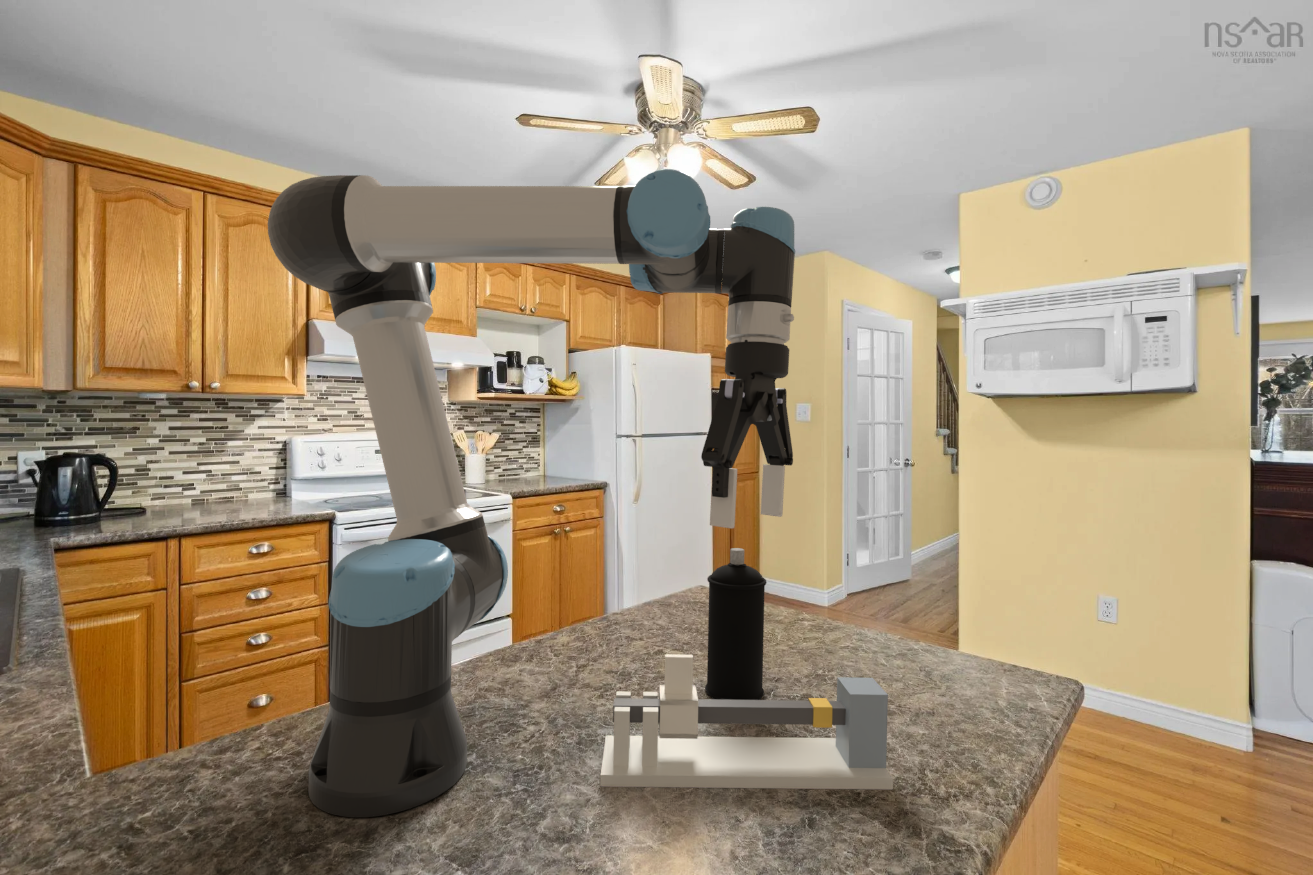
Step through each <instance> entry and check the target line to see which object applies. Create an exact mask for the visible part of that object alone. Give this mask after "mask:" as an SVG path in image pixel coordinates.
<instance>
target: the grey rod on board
mask: <svg viewBox="0 0 1313 875" xmlns="http://www.w3.org/2000/svg"><path fill="white" fill-rule="evenodd" d="M631 692H632V691H621V690H620V691H616V693H615V694H616V695H615V697H614V698H613V704H612V723H613V735H609V734H608V735H605V741H604V747H603V754H602V761H601V768H600V769H601V770H600V783H599V784H600V787H606V788H607V787H609V788H610V787H612V788H614V787H617V788H620V787H621V788H625V787H626V788H700V789H701V788H702V789H703V788H706V789H707V788H711V789H712V788H713V789H717V788H718V789H720V788H721V789H794V790H795V789H801V790H802V789H806V790H807V789H809V790H810V789H814V790H817V789H818V790H829V789H830V790H890V791H891V790H893V789H894V777H893V776H892V774H891V773H890V771H889V770H888V769H887V754H888V753H887V750H888V746H887V744H888V741H887V740H888V714H889V713H888V711H889V710H888V708H889V707H888V706H889V705H888V704H889V694H888V693H887V692H886V691H885V689H883V687H882V686H881V685H880V684H879V683H878V681H876V680H875V679H874V678H873V677H850V676H849V677H844V676H843V677H841V676H840V677H838V676H837V677H836V700H828V698H827V697H808V700H800V699H799V700H796V699H795V700H791V699H790V700H789V699H788V700H786V699H785V700H784V699H781V700H780V699H760V700H721V699H713V698H712V699H711V698H710V699H709V698H708V699H706V698H705V699H703V698H700V699H699V698H698V724H712V725H713V724H717V725H718V724H722V725H723V724H724V725H726V724H728V725H729V724H730V725H733V724H734V725H800V726H801V725H806V726H808V725H809V726H812V727H813V728H817V729H818V728H820V729H821V728H825V729H826V728H831V729H832V728H833V726H835V737H785V736H784V737H783V736H782V737H777V736H776V737H771V736H767V737H766V736H764V737H763V736H698V739H678V738H660V736H659V723H660V699H659V697H658V695H659V694H658V691H643V692H642V696H643V697H642V698H641V697H640V698H637V697H635V698H633V697H632V696H631V695H632V693H631ZM631 723H636V724H637V723H639V724H640V723H641V724H642V735H631Z"/></svg>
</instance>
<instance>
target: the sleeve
mask: <svg viewBox="0 0 1313 875" xmlns="http://www.w3.org/2000/svg"><path fill="white" fill-rule="evenodd" d="M693 680H694V656H693V654H677V653H676V654H673V653H672V654H671V653H669V654H668V653H667V654H664V684H659V694H658V695H659V697H658V699H660V723H658V736H660V738H678V739H698V734H699V723H698V699H699V697H698V693H697V687H696V685H695V684H693V682H694V681H693Z"/></svg>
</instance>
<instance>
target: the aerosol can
mask: <svg viewBox="0 0 1313 875" xmlns="http://www.w3.org/2000/svg"><path fill="white" fill-rule="evenodd" d="M729 551H730V554H729V555H730V558H729V563H728V564H724V565H722V566H720V567H717V568H716V569H715V570H713V572H712V573H711V574H710V575H708V576H707V578H706V579H707V580H706V581H707V582H708V619H707V620H708V621H707V622H708V623H707V624H708V626H707V628H708V629H707V631H708V632H707V673H706V676H707V677H706V681H707V682H706V684H705V686H704V690H705V693H706V694H707V695H708V697H710V698H712V699H721V700H762V698H763V697H764V695H765V690H764V688H763V683H764V682H763V677H764V676H763V675H764V673H763V672H764V671H763V670H764V634H765V633H764V630H765V629H764V628H765V624H764V623H765V591H766V590H765V586H766V585H767V583H768V582H767V579H766V578H764V577H763V574H761V573H760V571H758V570H757V569H756V568H754V567H752V566H749V565H747V564H746V563H745V549H743V548H741V547H740V548H739V547H734V548H733V547H732V548H730V550H729Z"/></svg>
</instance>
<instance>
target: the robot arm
mask: <svg viewBox="0 0 1313 875" xmlns="http://www.w3.org/2000/svg"><path fill="white" fill-rule="evenodd" d="M268 214H269V215H268V218H267V219H268V220H267V234H268V239H269V242H270V247H271V249H272V251H273V253H274V254H275V257H276V258H277V259H278V261H279V262H280V264H281V265H282V266H283V268H285V270H287V271H288V272H289V273H290V274H291V275H292V276H294V277H295V278H296V279H298V280H300V281H301V282H303V283H304V284H306V285H309V286H312V287H314V288H316V289H318V290H321V291H324V292H326V293H327V294H328V297H329V300H330V305H331V310H332V313H333V316H334V322H335V325H336V326H337V327H338V328H339V329H341V330H343V332H346V333H347V334H349V335H350V336H352V339H353V342H354V348H355V350H356V351H355V352H356V355H357V360H358V363H359V367H360V368H359V369H360V372H361V373H360V374H361V376H362V381H363V384H364V388H365V392H366V396H367V397H366V398H367V401H368V405H369V408H370V409H369V410H370V413H371V418H372V421H373V426H374V430H375V434H376V438H377V442H378V446H379V450H380V454H381V458H382V463H383V467H384V472H385V476H386V479H387V480H386V481H387V484H388V488H389V493H390V497H391V500H392V505H393V508H394V513H395V517H396V524H395V526H394V527H393V529H392V530H391V531H390V534H389V535H388V536H387V541H385V542H383V543H378V544H376V543H375V544H371V545H367V546H364V547H361V548H359V549H356V550H354V551H352V552H350V553H349V554H346V555H345V556H344V557H342V558H341V560H339V562H338V563H337V564H336V566H335V567H334V569H333V572H332V577H331V590H330V593H329V598H328V608H329V612H330V614H329V615H330V616H329V620H330V622H329V627H330V628H329V632H330V633H329V635H330V636H329V641H330V642H329V707H328V708H329V709H328V713H327V715H326V718H325V720H324V725H323V726H322V730H321V732H320V736H319V739H318V741H317V744H316V746H315V750H314V752H313V755H312V758H311V761H310V764H309V769H308V797H309V799H310V801H311V803H312V804H313V805H314V806H315V807H317V808H318V809H319V810H321V811H324V812H325V813H328V814H331V815H335V816H340V817H348V818H369V817H370V818H373V817H380V816H385V815H386V816H387V815H391V814H396V813H400V812H403V811H407V810H410V809H412V808H415V807H418V806H421V805H423V804H425V803H428V802H430V801H431V800H434V799H435V798H437V797H438V796H440V795H442V794H443V793H446V791H448V790H449V789H450V788H452V787H453V786H454V785H455V784H457V782H458V781H459V780H460V779H461V777H462V776H463V774H464V773H465V770H466V768H467V764H468V740H467V736H466V733H465V732H466V731H465V730H464V727H463V724H462V720H461V718H460V715H459V712H458V708H457V705H456V702H455V700H454V697H453V694H452V660H453V659H452V655H453V652H452V651H453V647H452V646H453V641H454V640H456V639H457V638H458V637H459V636H461V635H462V634H463V633H464V632H466V631H467V630H468V629H470V627H472V626H474V625H475V624H477V623H479V622H480V621H481V620H484V618H486V617H487V615H489V614H490V613H491V611H493V609H494V608H495V606H496V604H498V602H499V601H500V599H501V597H502V596H503V594H504V592H505V589H506V587H507V583H508V578H509V568H508V567H509V566H508V560H507V557H506V553H505V552H504V550H503V548H502V546H500V544H499V542H498V541H497V540H496V539H493V538H492V537H491V536H490V535H489V534H488V531H487V527H486V523H485V519H484V515H483V513H482V512H481V511H479V510H477V509H476V508H475V507H472V506H471V505H470V504H469V503H468V501H467V496H466V492H465V489H464V488H465V487H464V484H463V479H462V476H461V472H460V467H459V463H458V459H457V455H456V452H455V446H454V443H453V439H452V434H451V430H450V427H449V422H448V419H447V414H446V410H445V406H444V402H443V398H442V394H441V390H440V386H439V381H438V376H437V373H436V369H435V365H434V361H433V357H432V352H431V350H430V345H429V341H428V336H427V332H426V329H425V327H426V323H427V322H428V320H429V319H430V318H431V317H432V315H433V313H434V309H433V305H432V300H431V294H432V291H435V287H436V282H437V268H436V263H438V264H439V263H441V264H443V263H444V264H445V263H446V264H448V263H449V264H451V263H453V264H454V263H455V264H594V265H595V264H599V265H600V264H603V265H604V264H605V265H608V264H610V265H611V264H617V265H618V264H619V265H628V268H629V269H628V271H629V273H628V274H629V276H630V277H629V280H630V283H631V285H632V287H633V288H634V289H635V290H637V291H641V292H653V293H657V294H660V295H661V294H662V295H663V294H664V293H673V294H674V293H676V294H677V293H679V294H681V293H682V294H685V293H686V294H728V305H727V307H728V308H727V319H726V322H727V323H726V332H725V333H726V337H725V338H726V340H728V342H730V343H729V344H728V345H727V346H726V347H725V356H724V357H725V358H724V359H725V360H724V373H725V374H726V375H727V376H729V377H733V379H732V378H731V379H730V378H725V379H724V378H723V379H721V380H720V381H719V386H718V387H719V388H718V396H717V401H716V405H715V407H714V410H713V415H712V418H711V422H710V424H709V427H708V431H707V435H706V438H705V440H704V441H705V442H704V444H703V448H702V452H701V456H700V458H701V461H702V462H703V463H702V464H703V466H704V467H709V468H712V473H711V475H712V476H711V493H710V495H711V496H710V514H709V526H713V527H720V528H727V529H735V524H736V505H737V504H736V503H737V486H738V481H737V480H738V468H733V467H734V465H735V462H736V461H737V458H738V455H739V453H740V451H741V448H742V446H743V443H744V442H745V440H746V436H747V435H748V432H749V430H750V427H751V425H754V426H755V427H756V430H757V433H758V437H759V441H760V444H761V446H762V451H763V453H764V456H765V457H764V458H765V460H766V463H767V464H765V463H764V464H762V479H761V498H760V502H761V503H760V515H764V516H772V517H778V518H780V517H783V510H784V494H785V492H784V491H785V490H784V489H785V474H786V472H785V471H786V466H792V465H793V463H794V458H793V457H794V453H793V445H792V444H793V443H792V438H791V430H790V423H789V417H788V416H789V414H788V407H787V389H786V387H777V388H776V380H777V379H783V378H786V377H787V376H788V374H789V364H790V363H789V362H790V348H788V345H786V344H785V343H787V342H789V341H790V334H791V323H792V322H793V321H794V320H795V316H794V314H793V313H792V304H793V303H792V299H793V298H792V297H793V288H794V286H793V285H794V284H793V283H794V272H795V257H796V256H795V254H796V249H795V221H794V219H793V217H792V215H791V214H790V213H789V212H787V211H785V210H783V209H780V208H777V207H773V206H756V207H753V208H751V207H747V208H743V209H741V210H740V211H738V212H736V213H735V214H734V216H733V218H732V222H731V223H732V224H730V228H727V227H726V228H718V229H717V228H711V215H710V213H709V206H708V203H707V200H706V197H705V193H704V192H703V189H702V187H701V186H700V184H699V183H698V182H697V181H696V180H695V179H694V178H693V177H691V176H690V175H689V174H688V173H685V172H684V171H680V170H678V169H674V168H673V169H672V168H663V169H662V168H661V169H658V170H655V171H653V172H650V173H648V174H647V175H645V176H644V177H641V178H640V180H639V181H638V182H637V183H636V184H635V185H556V186H555V185H544V186H543V185H382V184H381V182H380V181H378V180H377V179H376V178H374V177H373V176H370V175H366V174H365V175H364V174H361V175H360V174H359V175H358V174H357V175H353V174H352V175H348V174H347V175H345V174H344V175H343V174H342V175H341V174H340V175H339V174H338V175H322V176H314V177H308V178H306V179H302V180H299V181H296V182H295V183H293V184H291V185H289V186H288V187H287V188H285V189H283V191H282V192H281V193H280V194H279V195H278V196H277V197H276V199H275V200H274V202H273V203H272V205H271V208H270V210H269V213H268Z"/></svg>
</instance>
